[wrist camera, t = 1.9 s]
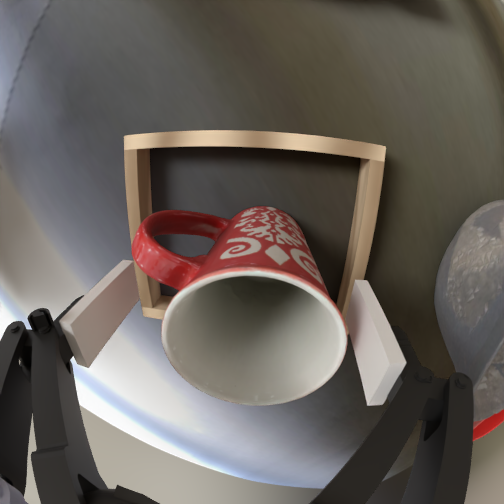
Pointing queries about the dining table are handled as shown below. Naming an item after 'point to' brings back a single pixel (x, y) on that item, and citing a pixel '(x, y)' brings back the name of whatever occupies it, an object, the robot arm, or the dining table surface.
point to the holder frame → (369, 153)
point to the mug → (244, 306)
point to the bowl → (475, 305)
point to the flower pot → (487, 425)
